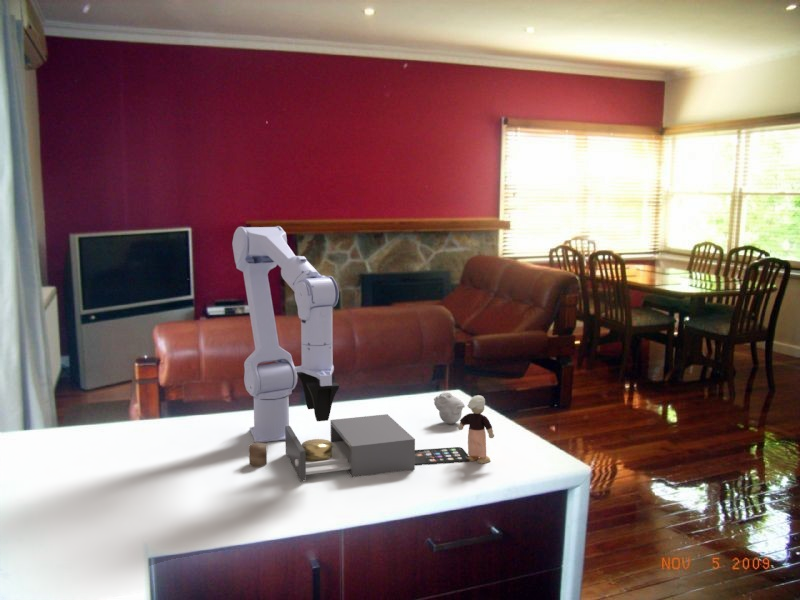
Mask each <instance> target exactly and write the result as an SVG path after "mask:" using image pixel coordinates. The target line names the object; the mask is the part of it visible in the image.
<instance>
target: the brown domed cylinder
mask: <svg viewBox="0 0 800 600" xmlns="http://www.w3.org/2000/svg"><path fill="white" fill-rule="evenodd" d="M267 448H268V447H267V444H266V443H265V442H260V443H256V442H254V443H251V444H249V447H248V451H249V453H248V455H249V456H248V457H249V466H250V467H255V468H257V467H258V468H260V467H264V466H266V465H267V464H268V456H267V452H268V450H267Z"/></svg>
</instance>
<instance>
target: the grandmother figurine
mask: <svg viewBox="0 0 800 600" xmlns="http://www.w3.org/2000/svg"><path fill="white" fill-rule="evenodd" d="M485 404H486V399H485V398H484V396H482V395H479V394H478V395H473V396H472V397H471V399H470V400H469V401H468V403H467V408H468V409H470V410H471V412H472V413H471V412H470V413H468V414H465V415H464V416H463V417H461V418H460V419H459V425H458V427H457V429H458V430H459V431H462V430H464V427H465V426H468V425H469V426H468V434H467V452H468V453H467V454H468V458H467V459H470V461H469V462H475V461H476V462H477V463H478V464H486V463H490V462H491V458H490V457H489V456H488V455H487V436H486V435H487V434H488V438H490V439H494V438H495V434H494V430H493V425H492V424H491V422H490V420H489V419H488V416H485V415H483V414H482V413H483V412H484V411H485V407H486V405H485ZM486 432H487V434H486Z"/></svg>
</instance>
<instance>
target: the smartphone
mask: <svg viewBox="0 0 800 600" xmlns="http://www.w3.org/2000/svg"><path fill="white" fill-rule="evenodd" d="M468 456H469V454H468V453H467V452H466V450H465V449H464V448H463V447H460V446H459V447H458V446H457V447H456V446H453V447H441V448H439V447H438V448H425V449H415V466H423V465H422V464H428V465H438V464H437V463H443V464H454V462H458V463H469V462H471V461H470V459H467V458H468Z"/></svg>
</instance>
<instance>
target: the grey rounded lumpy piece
mask: <svg viewBox="0 0 800 600" xmlns="http://www.w3.org/2000/svg"><path fill="white" fill-rule="evenodd" d="M433 401H434V402H433V403H434V406H435V408H436V409H437V410H438V411H439V417H440V419H441V421H442V422H444V423H445V424H448V425H454V424H456V423H457V422H460V420H461V419H462V415H463V413H462V411H463V409H464V408H465V407H466V406H465V405H466V404H465V403H464V402H463V401H462V400H461V399H459V398H457V397H456V396H454V395H453V394H452V393H451V392H446V391H445V392H441V393H440V394H439V395H437V396H435V397H434V398H433Z"/></svg>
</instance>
